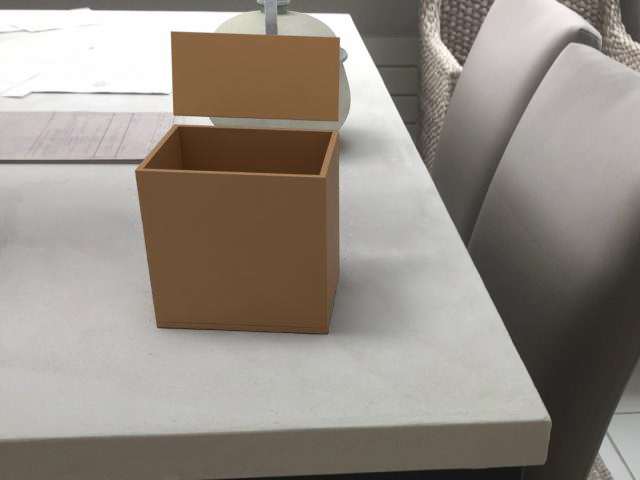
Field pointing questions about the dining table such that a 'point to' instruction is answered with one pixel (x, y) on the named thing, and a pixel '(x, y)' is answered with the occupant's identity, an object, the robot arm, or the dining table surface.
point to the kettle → (285, 23)
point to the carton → (242, 227)
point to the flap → (255, 76)
